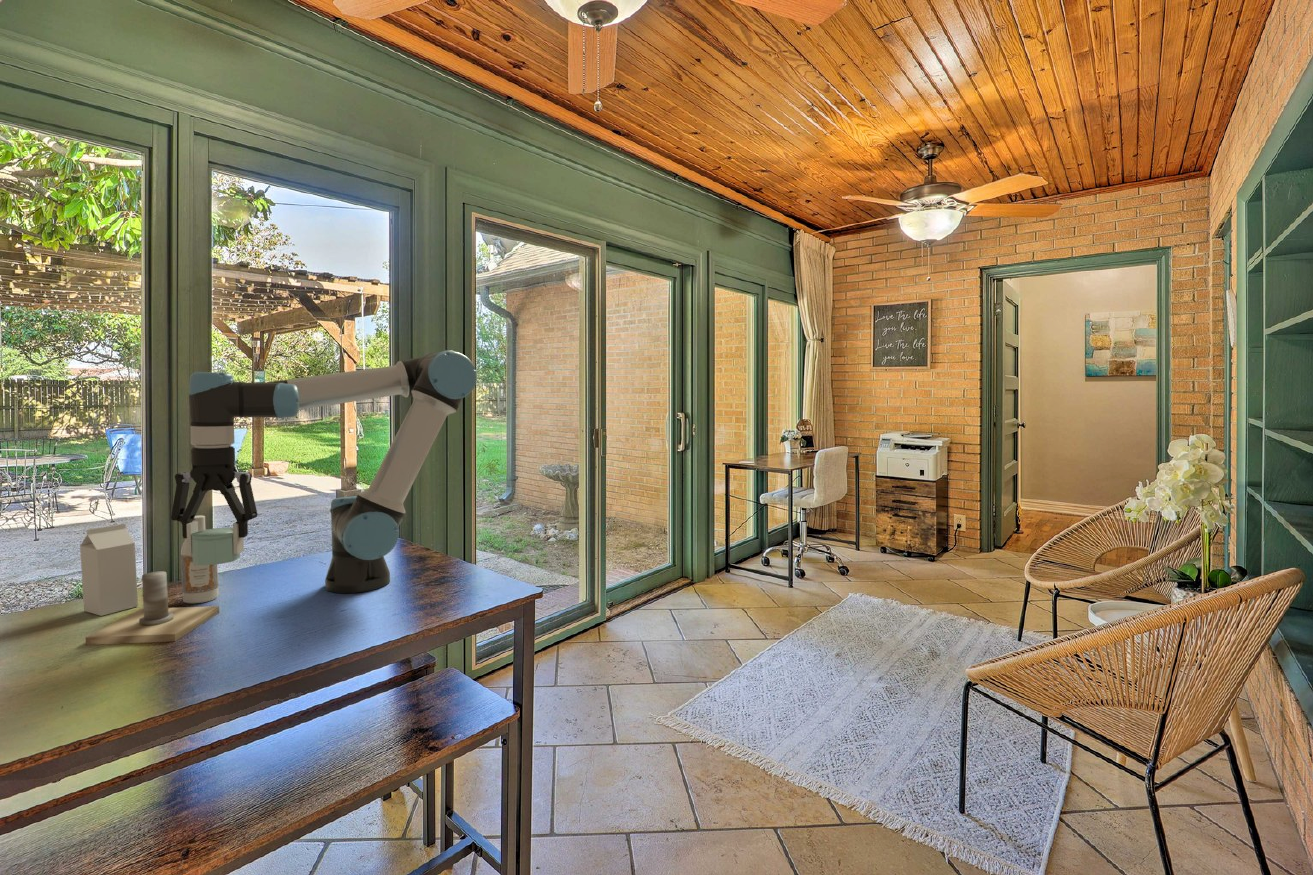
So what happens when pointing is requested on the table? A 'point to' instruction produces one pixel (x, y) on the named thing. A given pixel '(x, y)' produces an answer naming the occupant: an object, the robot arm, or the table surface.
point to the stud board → (155, 631)
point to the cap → (213, 546)
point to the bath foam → (198, 575)
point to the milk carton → (108, 570)
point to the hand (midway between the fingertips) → (216, 552)
